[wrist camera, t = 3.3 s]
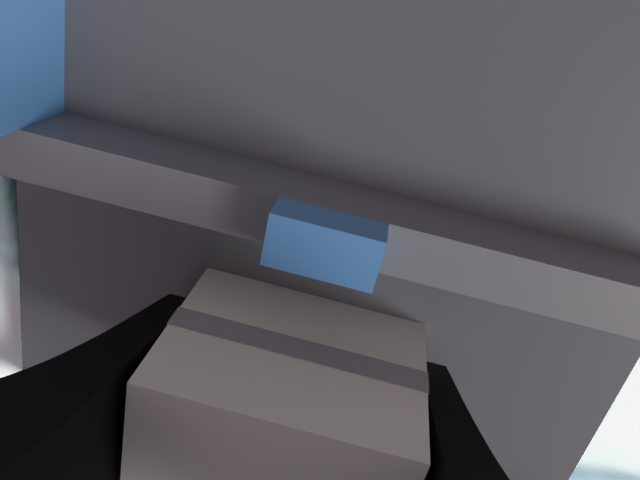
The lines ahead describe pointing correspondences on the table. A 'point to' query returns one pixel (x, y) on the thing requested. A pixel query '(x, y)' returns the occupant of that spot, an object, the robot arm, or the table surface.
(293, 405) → the beige rectangular box
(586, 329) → the board
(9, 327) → the table surface
